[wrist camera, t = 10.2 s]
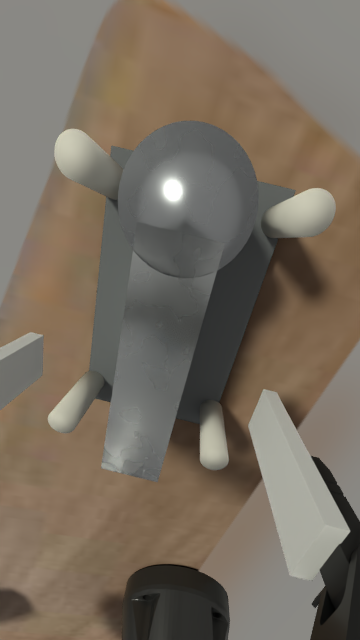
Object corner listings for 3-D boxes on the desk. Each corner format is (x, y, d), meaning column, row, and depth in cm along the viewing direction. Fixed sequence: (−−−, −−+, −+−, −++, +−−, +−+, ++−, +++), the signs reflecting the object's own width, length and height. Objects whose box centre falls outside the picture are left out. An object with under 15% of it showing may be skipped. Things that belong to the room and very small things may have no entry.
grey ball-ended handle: (179, 419, 21) (171, 485, 15) (117, 404, 21) (87, 464, 15) (248, 180, 14) (281, 141, 8) (156, 158, 14) (128, 104, 8)
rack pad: (214, 420, 22) (220, 482, 16) (86, 388, 22) (47, 439, 16) (297, 195, 15) (355, 167, 9) (109, 149, 15) (55, 95, 9)
